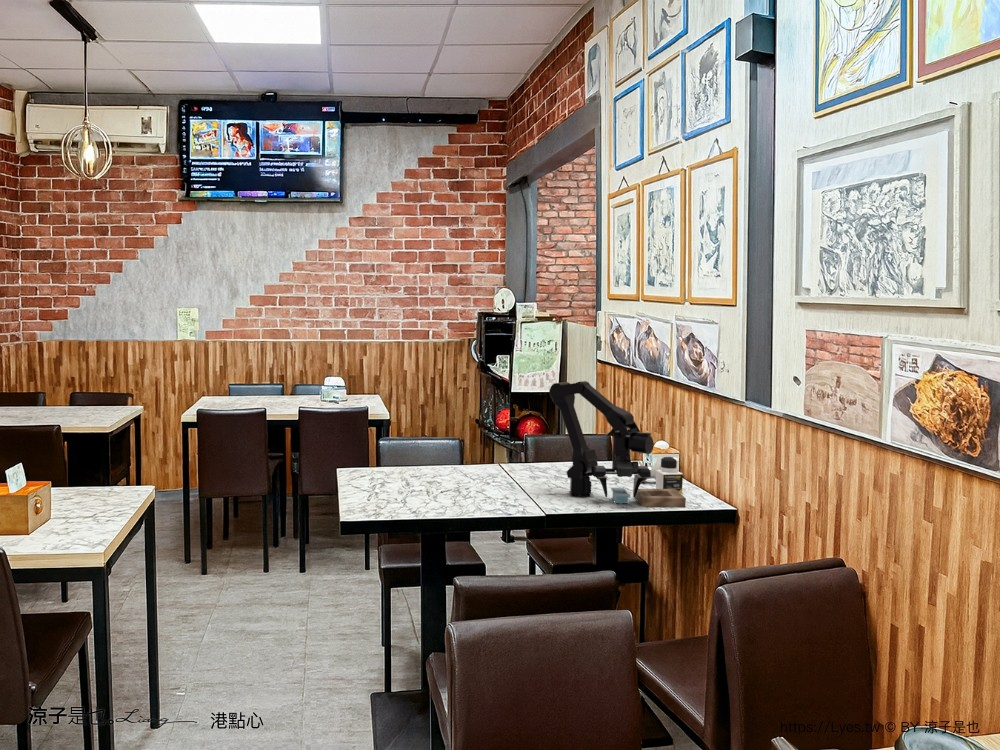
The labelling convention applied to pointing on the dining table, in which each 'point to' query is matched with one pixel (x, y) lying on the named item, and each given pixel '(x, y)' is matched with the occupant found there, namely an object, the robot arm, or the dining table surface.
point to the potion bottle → (654, 469)
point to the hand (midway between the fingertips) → (620, 497)
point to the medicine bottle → (669, 475)
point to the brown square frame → (660, 498)
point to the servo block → (620, 495)
